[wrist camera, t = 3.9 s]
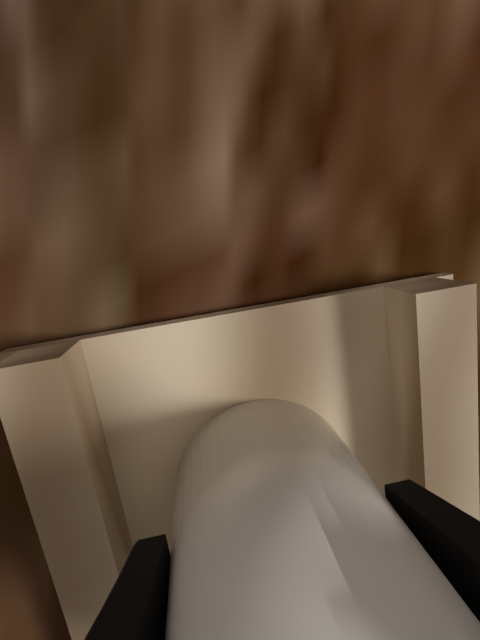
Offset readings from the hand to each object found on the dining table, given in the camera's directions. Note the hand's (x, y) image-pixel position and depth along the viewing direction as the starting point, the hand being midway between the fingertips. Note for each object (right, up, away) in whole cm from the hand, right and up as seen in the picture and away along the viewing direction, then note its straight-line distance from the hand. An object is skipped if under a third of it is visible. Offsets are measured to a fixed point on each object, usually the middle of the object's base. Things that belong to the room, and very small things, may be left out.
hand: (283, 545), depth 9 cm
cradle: (0, +1, +3) cm, 3 cm away
